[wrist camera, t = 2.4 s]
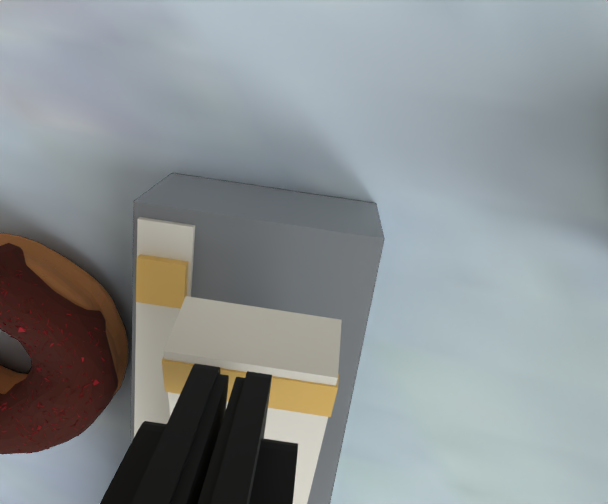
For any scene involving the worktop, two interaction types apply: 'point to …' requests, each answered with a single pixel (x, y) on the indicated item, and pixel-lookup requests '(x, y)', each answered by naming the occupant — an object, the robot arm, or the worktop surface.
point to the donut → (55, 347)
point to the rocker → (264, 367)
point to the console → (251, 277)
